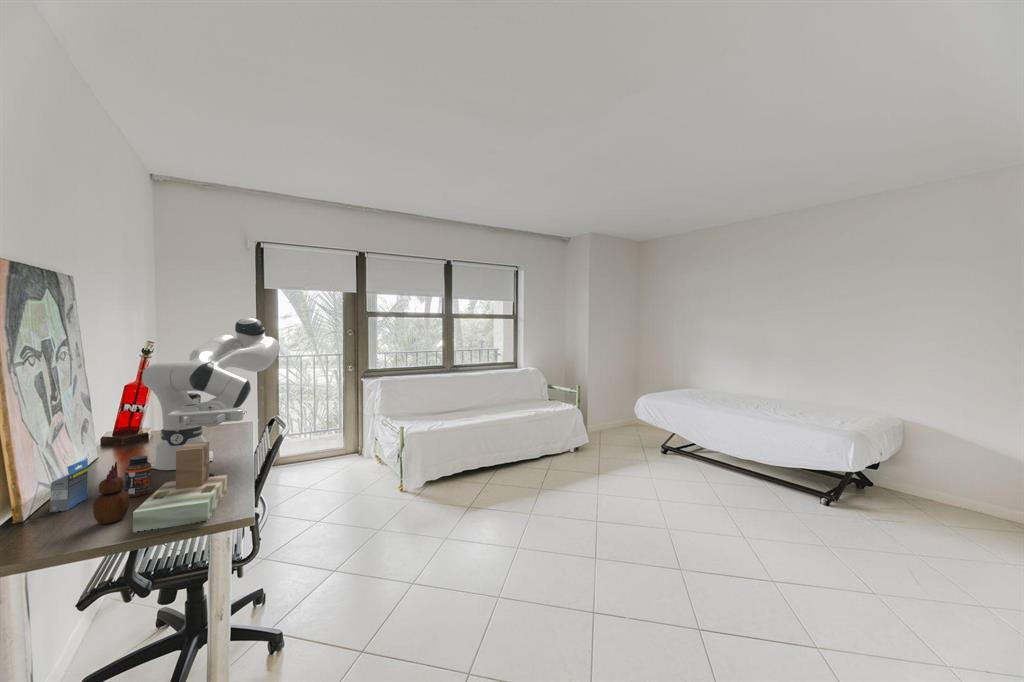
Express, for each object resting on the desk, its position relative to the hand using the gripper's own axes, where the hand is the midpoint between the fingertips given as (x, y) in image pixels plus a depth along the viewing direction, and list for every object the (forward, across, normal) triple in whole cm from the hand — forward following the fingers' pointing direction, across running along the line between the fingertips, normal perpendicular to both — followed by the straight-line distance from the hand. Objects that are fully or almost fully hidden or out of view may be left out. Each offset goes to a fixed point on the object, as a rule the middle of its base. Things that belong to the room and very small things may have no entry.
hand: (201, 420), depth 125 cm
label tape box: (-1, +31, -22) cm, 38 cm away
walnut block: (+8, 0, -17) cm, 19 cm away
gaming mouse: (-4, 0, -23) cm, 23 cm away
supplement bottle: (-4, +17, -22) cm, 28 cm away
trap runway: (+15, 0, -22) cm, 27 cm away
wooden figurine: (+16, +15, -22) cm, 32 cm away
